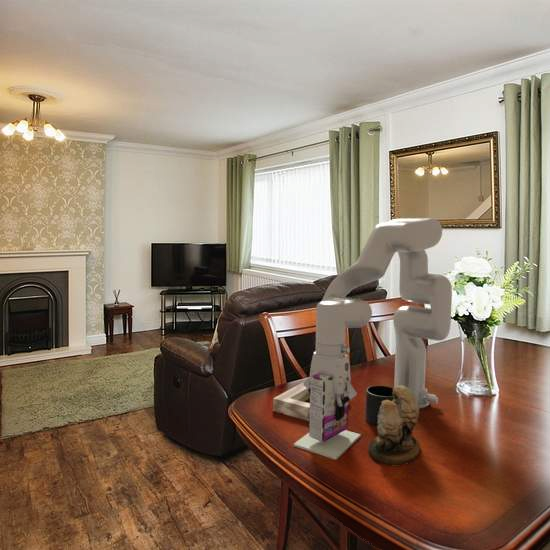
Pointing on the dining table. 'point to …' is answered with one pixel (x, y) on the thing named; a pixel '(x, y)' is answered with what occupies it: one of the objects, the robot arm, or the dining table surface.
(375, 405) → the mug
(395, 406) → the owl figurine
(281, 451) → the dining table surface
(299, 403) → the board
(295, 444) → the mat
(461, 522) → the dining table surface
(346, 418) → the candy bar box
